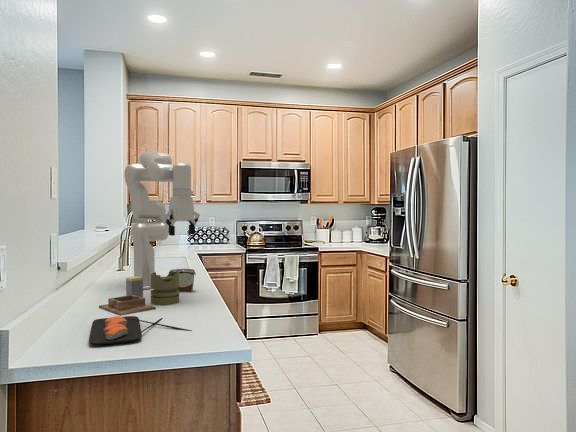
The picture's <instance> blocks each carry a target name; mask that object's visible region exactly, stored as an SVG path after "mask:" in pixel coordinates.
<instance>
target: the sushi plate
mask: <svg viewBox="0 0 576 432" xmlns="http://www.w3.org/2000/svg"><path fill="white" fill-rule="evenodd" d="M163 319H164V318H163V317H160V318H159V319H158V320H156V321H155V322H153V321H146V320H141V319H140V318H139V317H138V316H136V315H128V316H125V315H124V316H121V315H118V316H117V315H115V316H110V317H104V318H97V319H94V320H93V321H92V322H91V323H92V324H91V328H90V332H89V338H88V342H89V344H91V345H111V344H121V343H128V342H134V341H139V340H140V339H142V336H143V334H142V333H143V332H145V331H146V330H148V329H150V328H152V327H153V326H155V325H156V326H159V327H165V328H168V329H172V330H173V329H174V330H177V331H184V332H186V331H188V332H193V330H191V329H187V328H182V327H178V326H177V327H176V326H173V325H167V324H162V323H160V322H161V321H162V320H163ZM140 322H143V323H148V324H150V325H149V326H147V327H145V328H144V329H143V330H142V327H141V323H140Z"/></svg>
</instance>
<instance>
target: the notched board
mask: <svg viewBox="0 0 576 432" xmlns="http://www.w3.org/2000/svg"><path fill="white" fill-rule="evenodd" d="M107 299H108V300H107V301H108V303H107V304H101V305H100V304H99V305H98V308H99V309H101V310H104V311H106V312H110V313H113V314H115V315H118V316H123V315H124V316H125V315H129V314H137V313H141V312H147V311H152V310H156V306H155V305H152V304H147V303H146V298H145V297H143V298H142V297H139V296H135V295H128V296H126V295H123V296H115V297H110V298H107Z"/></svg>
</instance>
